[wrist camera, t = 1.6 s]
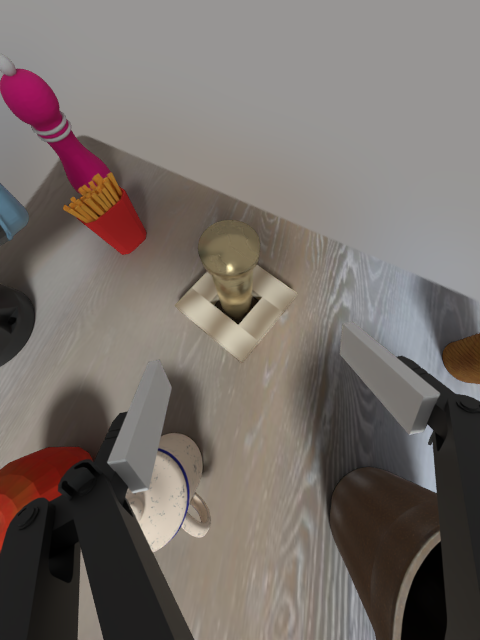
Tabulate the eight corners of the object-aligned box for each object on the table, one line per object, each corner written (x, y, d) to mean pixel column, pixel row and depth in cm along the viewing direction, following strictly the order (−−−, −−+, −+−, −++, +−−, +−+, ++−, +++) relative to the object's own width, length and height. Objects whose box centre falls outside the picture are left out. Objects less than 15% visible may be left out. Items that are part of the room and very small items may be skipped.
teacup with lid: (127, 475, 30) (55, 531, 19) (168, 417, 32) (126, 436, 21) (194, 537, 28) (159, 642, 16) (234, 470, 30) (227, 524, 18)
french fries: (139, 222, 42) (99, 161, 30) (153, 232, 41) (117, 174, 30) (107, 251, 40) (51, 199, 29) (121, 262, 39) (69, 213, 28)
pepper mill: (117, 179, 45) (21, 29, 26) (128, 202, 43) (34, 60, 24) (84, 192, 44) (-39, 49, 25) (95, 217, 43) (-30, 82, 23)
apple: (27, 473, 30) (-100, 526, 19) (88, 421, 32) (3, 442, 21) (61, 540, 28) (-60, 643, 17) (125, 480, 30) (52, 538, 19)
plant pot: (369, 421, 31) (493, 461, 15) (469, 528, 27) (768, 723, 12) (287, 508, 28) (337, 661, 13) (386, 639, 24) (626, 1084, 9)
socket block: (179, 310, 36) (174, 305, 34) (232, 254, 39) (231, 246, 37) (242, 363, 34) (241, 362, 31) (294, 299, 36) (297, 293, 34)
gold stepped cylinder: (212, 307, 36) (185, 249, 21) (234, 282, 38) (225, 210, 22) (238, 329, 35) (232, 285, 19) (261, 302, 36) (272, 241, 21)
